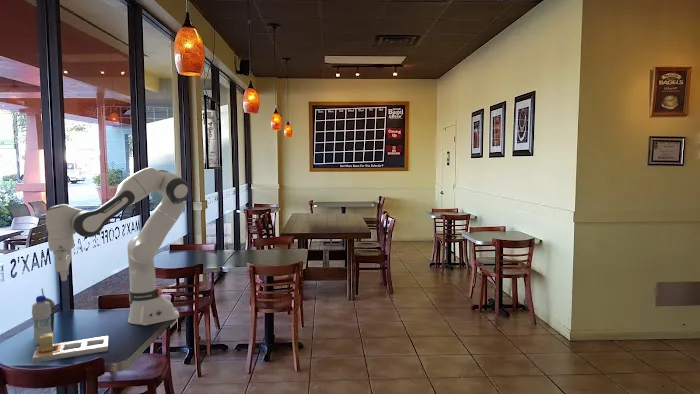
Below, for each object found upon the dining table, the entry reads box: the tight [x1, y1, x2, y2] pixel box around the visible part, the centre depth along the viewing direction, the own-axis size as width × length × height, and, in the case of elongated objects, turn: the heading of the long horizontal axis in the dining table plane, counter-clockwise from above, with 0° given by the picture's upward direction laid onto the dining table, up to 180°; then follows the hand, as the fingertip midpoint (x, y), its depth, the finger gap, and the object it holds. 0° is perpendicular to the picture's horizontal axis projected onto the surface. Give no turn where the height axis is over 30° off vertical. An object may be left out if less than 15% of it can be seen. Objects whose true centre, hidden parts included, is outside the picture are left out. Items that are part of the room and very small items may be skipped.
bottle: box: [31, 295, 52, 346], centre depth 195 cm, size 7×7×20 cm
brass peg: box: [39, 332, 55, 353], centre depth 183 cm, size 4×4×8 cm
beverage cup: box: [41, 288, 56, 334], centre depth 206 cm, size 7×7×20 cm
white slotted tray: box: [32, 335, 109, 364], centre depth 187 cm, size 25×12×2 cm, turn 116°
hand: (65, 277), depth 193 cm, fingers open, 8 cm apart
